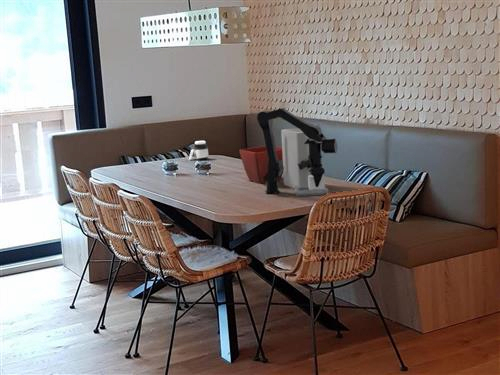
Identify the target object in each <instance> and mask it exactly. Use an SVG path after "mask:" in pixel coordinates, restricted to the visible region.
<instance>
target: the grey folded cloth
mask: <svg viewBox="0 0 500 375" xmlns="http://www.w3.org/2000/svg"><path fill="white" fill-rule="evenodd" d="M324 186H325V189H313V190H310V189H309V187H298V185H295V189H294V194H295V196H296V197H310V196H325V195H324V194H327V193H329V188H327V185H324Z"/></svg>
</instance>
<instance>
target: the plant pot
mask: <svg viewBox="0 0 500 375" xmlns="http://www.w3.org/2000/svg"><path fill="white" fill-rule="evenodd" d="M275 147H276V152H277V157H278V159H279V161H281V160H282V161H283V154H282V146H281V147H279V146H275ZM239 155H240V158H241V162H242V165H243V168H244V171H245V173H246V175H247V178H248V181H250V182H254V183H258V184H264V183H265V184H266V181H264V178H263V177H264V176H265V175H266V174H267V173H268V155H267V150H266V145H265V146H256V147H250V148H242V149H241V148H240V149H239ZM282 177H283V172H282V174H281V175H280V176H279V178H278V182H279V181H281V180H282Z"/></svg>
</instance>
